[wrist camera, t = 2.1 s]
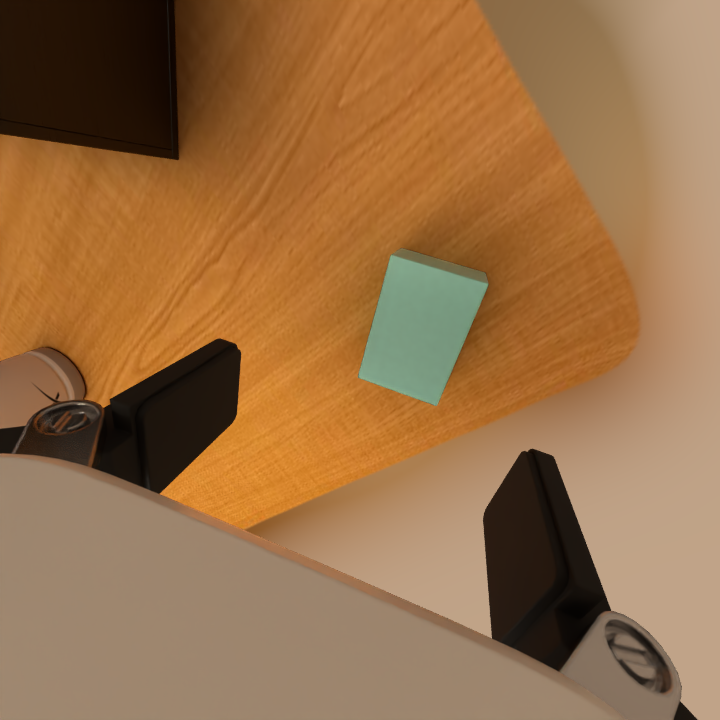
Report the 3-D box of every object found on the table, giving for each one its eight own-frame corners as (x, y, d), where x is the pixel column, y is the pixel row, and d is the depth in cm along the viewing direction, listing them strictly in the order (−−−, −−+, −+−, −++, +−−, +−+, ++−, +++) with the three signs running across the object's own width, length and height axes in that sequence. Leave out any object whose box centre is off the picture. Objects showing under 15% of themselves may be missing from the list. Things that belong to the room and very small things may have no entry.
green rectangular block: (486, 272, 19) (489, 283, 16) (440, 382, 22) (437, 406, 20) (400, 247, 19) (390, 254, 17) (369, 358, 23) (357, 377, 20)
